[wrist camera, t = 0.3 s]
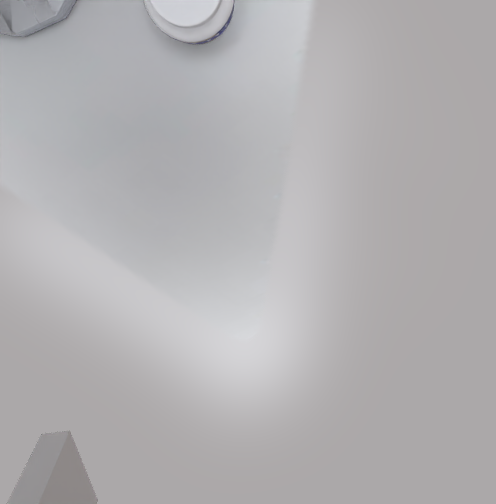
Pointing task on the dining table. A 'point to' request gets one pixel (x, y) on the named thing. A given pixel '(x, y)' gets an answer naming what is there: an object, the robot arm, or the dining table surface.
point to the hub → (31, 15)
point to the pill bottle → (191, 18)
